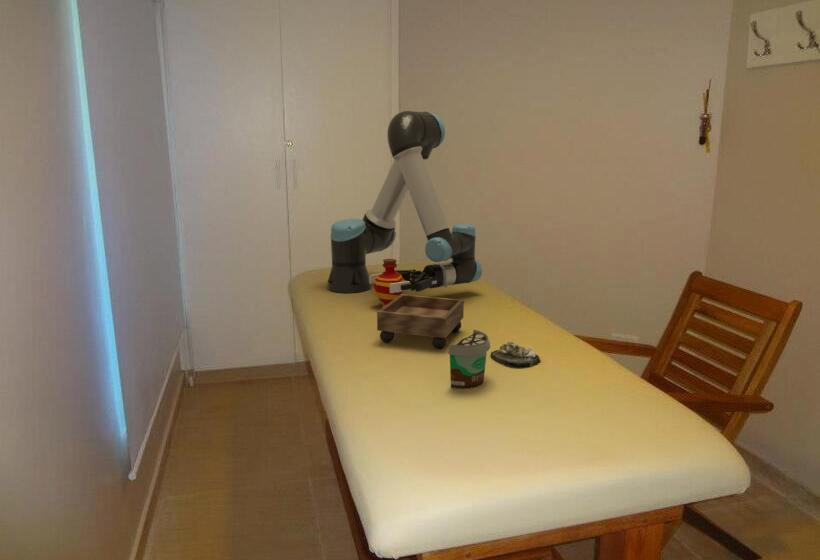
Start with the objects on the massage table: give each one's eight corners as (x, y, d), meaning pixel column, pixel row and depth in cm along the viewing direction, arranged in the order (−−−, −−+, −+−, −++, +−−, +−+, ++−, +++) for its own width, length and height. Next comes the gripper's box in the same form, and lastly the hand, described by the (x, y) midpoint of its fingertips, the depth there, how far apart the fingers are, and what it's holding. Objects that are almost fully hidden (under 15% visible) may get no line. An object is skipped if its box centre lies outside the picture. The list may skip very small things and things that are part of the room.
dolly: (377, 343, 154) (377, 311, 152) (401, 323, 170) (401, 294, 168) (445, 352, 148) (445, 318, 146) (463, 330, 165) (463, 299, 163)
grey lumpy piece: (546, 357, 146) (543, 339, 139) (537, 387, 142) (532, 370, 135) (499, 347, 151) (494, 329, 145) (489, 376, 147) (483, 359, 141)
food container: (473, 396, 123) (475, 350, 121) (447, 389, 126) (448, 344, 124) (498, 376, 133) (500, 333, 131) (473, 370, 137) (474, 328, 134)
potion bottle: (408, 303, 191) (408, 257, 187) (404, 312, 181) (404, 264, 177) (375, 302, 192) (374, 256, 188) (370, 311, 182) (369, 263, 178)
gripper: (460, 295, 184) (400, 305, 173) (418, 279, 204) (361, 286, 194) (461, 271, 182) (399, 280, 171) (418, 257, 203) (361, 264, 192)
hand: (379, 283), depth 183 cm, fingers open, 12 cm apart
